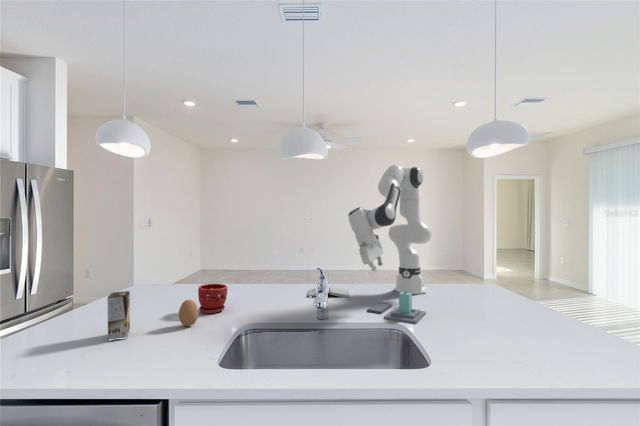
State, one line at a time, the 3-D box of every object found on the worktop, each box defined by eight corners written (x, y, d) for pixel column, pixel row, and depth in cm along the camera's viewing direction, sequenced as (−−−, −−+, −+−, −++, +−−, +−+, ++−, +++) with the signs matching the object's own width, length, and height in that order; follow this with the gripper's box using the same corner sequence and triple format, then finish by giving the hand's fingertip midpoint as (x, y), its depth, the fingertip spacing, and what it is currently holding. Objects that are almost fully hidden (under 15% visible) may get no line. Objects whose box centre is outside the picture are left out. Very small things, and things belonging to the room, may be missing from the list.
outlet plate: (395, 309, 164) (395, 304, 164) (425, 313, 156) (425, 309, 156) (384, 318, 150) (383, 313, 150) (416, 323, 143) (416, 318, 143)
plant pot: (205, 317, 154) (205, 290, 154) (194, 310, 164) (193, 285, 164) (232, 311, 162) (232, 286, 162) (219, 305, 172) (219, 281, 172)
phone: (367, 311, 160) (367, 309, 160) (378, 304, 172) (378, 302, 172) (381, 313, 157) (381, 311, 157) (391, 306, 169) (391, 304, 169)
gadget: (347, 292, 202) (347, 285, 202) (349, 298, 187) (349, 291, 187) (308, 292, 203) (308, 286, 203) (307, 298, 188) (307, 292, 188)
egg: (174, 328, 139) (174, 301, 139) (187, 322, 147) (187, 296, 147) (189, 330, 137) (189, 302, 137) (202, 324, 144) (202, 298, 144)
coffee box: (127, 339, 127) (127, 295, 127) (107, 341, 125) (106, 297, 125) (130, 331, 136) (129, 290, 136) (111, 333, 133) (111, 292, 133)
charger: (402, 311, 156) (401, 290, 156) (412, 313, 154) (411, 292, 154) (398, 314, 152) (398, 292, 152) (409, 315, 150) (408, 294, 150)
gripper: (365, 243, 153) (377, 272, 153) (379, 234, 171) (390, 260, 171) (353, 247, 156) (364, 276, 155) (368, 239, 174) (378, 264, 174)
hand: (378, 268), depth 163 cm, fingers open, 8 cm apart
